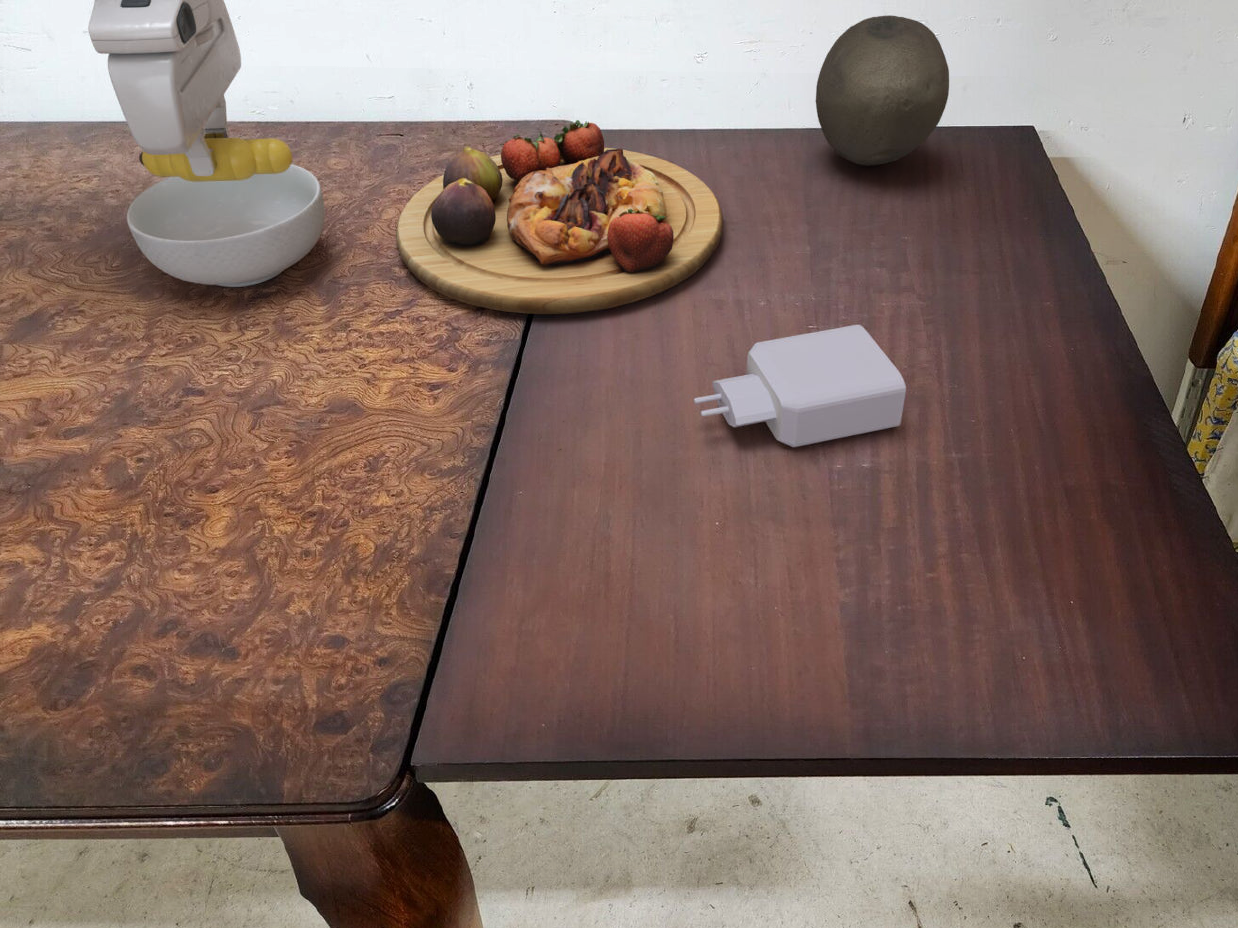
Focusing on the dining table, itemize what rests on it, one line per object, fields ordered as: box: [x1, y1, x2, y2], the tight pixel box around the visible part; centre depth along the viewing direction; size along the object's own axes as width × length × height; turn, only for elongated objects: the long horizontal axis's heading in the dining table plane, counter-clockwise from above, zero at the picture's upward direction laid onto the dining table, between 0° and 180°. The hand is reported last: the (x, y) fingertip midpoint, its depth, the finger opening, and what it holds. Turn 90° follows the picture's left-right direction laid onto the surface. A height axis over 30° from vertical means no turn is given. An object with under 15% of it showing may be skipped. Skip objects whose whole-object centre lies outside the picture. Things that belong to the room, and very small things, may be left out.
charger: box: [693, 324, 907, 448], centre depth 84 cm, size 5×9×15 cm
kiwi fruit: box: [815, 14, 950, 166], centre depth 114 cm, size 14×14×15 cm
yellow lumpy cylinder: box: [138, 137, 293, 182], centre depth 96 cm, size 13×4×4 cm, turn 94°
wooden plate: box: [395, 119, 724, 315], centre depth 105 cm, size 32×32×8 cm
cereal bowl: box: [126, 163, 326, 288], centre depth 101 cm, size 17×17×7 cm
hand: (213, 160), depth 96 cm, fingers closed on yellow lumpy cylinder, 3 cm apart
